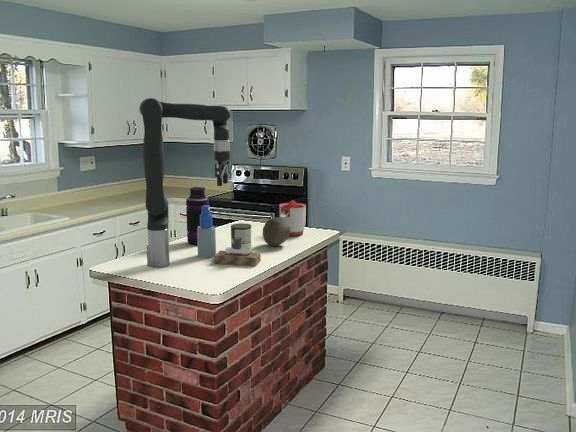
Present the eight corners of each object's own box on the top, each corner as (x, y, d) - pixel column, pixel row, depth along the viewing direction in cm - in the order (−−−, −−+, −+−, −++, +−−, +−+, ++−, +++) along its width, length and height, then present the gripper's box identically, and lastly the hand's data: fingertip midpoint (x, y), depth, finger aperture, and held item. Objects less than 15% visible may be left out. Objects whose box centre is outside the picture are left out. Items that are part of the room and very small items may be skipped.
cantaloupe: (268, 250, 281) (268, 221, 278) (259, 243, 294) (258, 216, 291) (293, 247, 287) (294, 219, 284) (283, 241, 299) (283, 214, 296)
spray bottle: (219, 254, 272) (218, 204, 267) (210, 259, 264) (209, 207, 259) (203, 252, 275) (202, 203, 270) (194, 257, 267) (192, 206, 262)
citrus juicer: (271, 235, 314) (271, 200, 310) (289, 229, 328) (289, 196, 324) (294, 238, 305) (294, 203, 301) (311, 233, 319) (311, 199, 315)
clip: (225, 262, 258) (225, 238, 256) (227, 260, 261) (227, 237, 259) (248, 263, 256) (247, 239, 254) (249, 262, 259) (249, 238, 257)
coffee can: (226, 253, 274) (226, 225, 271) (240, 249, 282) (239, 222, 280) (242, 256, 268) (242, 228, 266) (255, 252, 277) (255, 225, 274)
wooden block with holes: (214, 263, 256) (214, 255, 255) (220, 258, 265) (220, 250, 264) (255, 266, 252) (255, 257, 251) (260, 260, 261) (260, 252, 260)
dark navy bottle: (203, 246, 288) (201, 189, 282) (183, 244, 292) (181, 188, 286) (215, 240, 301) (213, 186, 295) (195, 238, 304) (194, 185, 299)
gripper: (219, 148, 261) (219, 182, 264) (209, 150, 248) (209, 186, 251) (234, 149, 260) (234, 183, 263) (225, 151, 246) (225, 187, 249)
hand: (222, 184), depth 257 cm, fingers open, 8 cm apart
